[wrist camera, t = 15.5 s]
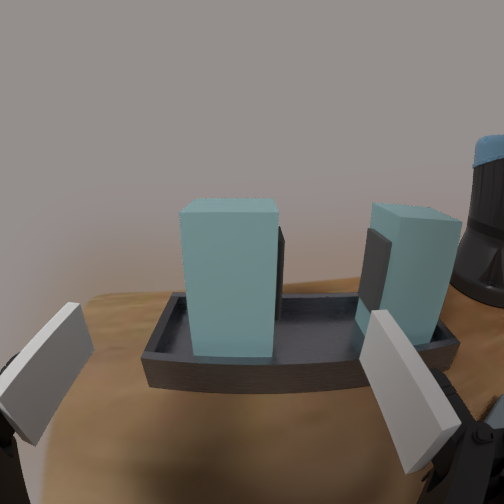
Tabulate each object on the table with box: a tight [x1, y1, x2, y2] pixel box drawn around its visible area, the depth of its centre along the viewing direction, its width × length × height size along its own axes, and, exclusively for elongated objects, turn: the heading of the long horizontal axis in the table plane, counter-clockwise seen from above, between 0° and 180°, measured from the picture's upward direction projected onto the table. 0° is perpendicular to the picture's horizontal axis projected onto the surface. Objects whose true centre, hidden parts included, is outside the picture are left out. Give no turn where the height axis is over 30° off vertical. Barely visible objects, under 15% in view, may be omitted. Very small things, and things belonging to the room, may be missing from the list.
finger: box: [179, 198, 285, 357], centre depth 21 cm, size 6×5×11 cm
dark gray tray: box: [141, 292, 460, 394], centre depth 23 cm, size 25×10×3 cm, turn 90°
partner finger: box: [355, 203, 462, 345], centre depth 21 cm, size 6×5×11 cm
